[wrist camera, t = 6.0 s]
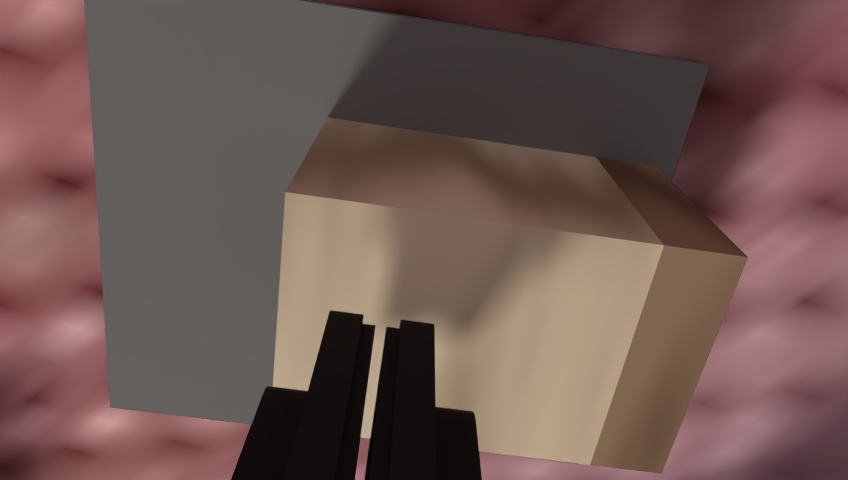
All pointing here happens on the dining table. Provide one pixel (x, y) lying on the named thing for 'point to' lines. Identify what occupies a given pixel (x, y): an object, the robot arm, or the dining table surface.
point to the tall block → (510, 285)
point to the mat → (302, 155)
